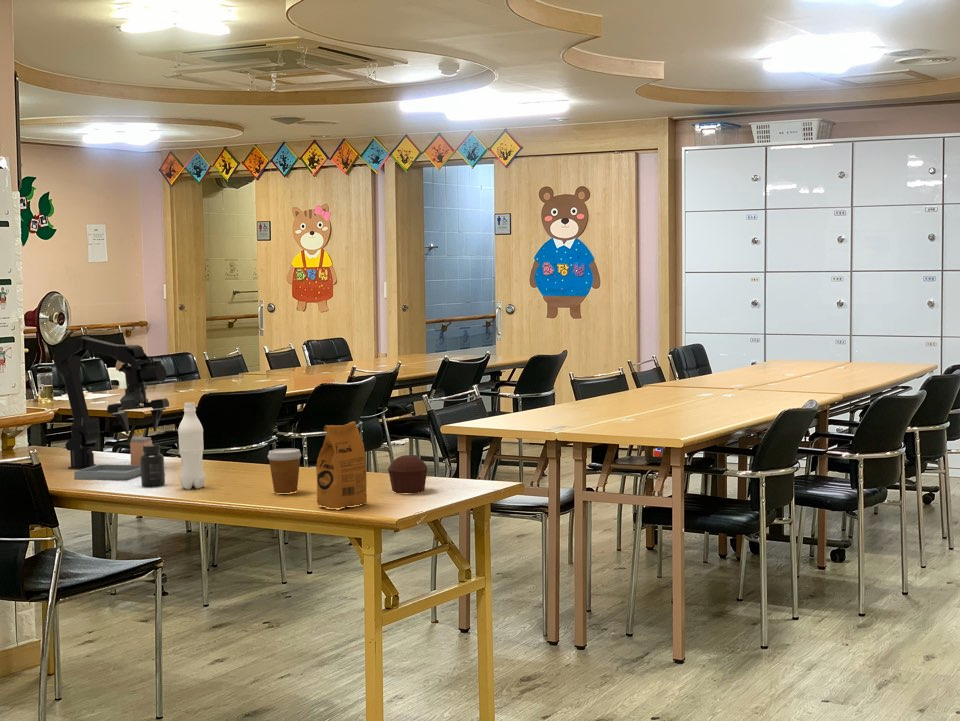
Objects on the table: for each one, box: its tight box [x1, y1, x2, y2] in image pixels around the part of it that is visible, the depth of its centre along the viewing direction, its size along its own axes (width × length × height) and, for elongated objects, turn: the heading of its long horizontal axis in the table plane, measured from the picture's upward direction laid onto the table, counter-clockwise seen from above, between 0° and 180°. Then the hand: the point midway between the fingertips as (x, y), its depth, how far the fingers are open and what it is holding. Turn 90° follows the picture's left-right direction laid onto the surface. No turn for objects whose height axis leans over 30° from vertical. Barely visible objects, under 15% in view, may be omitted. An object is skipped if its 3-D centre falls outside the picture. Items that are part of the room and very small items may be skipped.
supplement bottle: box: [140, 444, 166, 488], centre depth 350 cm, size 7×7×12 cm
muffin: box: [387, 454, 429, 494], centre depth 331 cm, size 12×11×10 cm
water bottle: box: [177, 401, 206, 490], centre depth 344 cm, size 7×7×25 cm
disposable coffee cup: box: [267, 448, 302, 493], centre depth 333 cm, size 10×10×12 cm
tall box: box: [129, 436, 153, 465], centre depth 382 cm, size 5×5×10 cm
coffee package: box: [315, 421, 368, 508], centre depth 311 cm, size 10×12×22 cm
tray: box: [73, 463, 141, 481], centre depth 369 cm, size 18×14×2 cm
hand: (141, 432), depth 379 cm, fingers open, 9 cm apart
